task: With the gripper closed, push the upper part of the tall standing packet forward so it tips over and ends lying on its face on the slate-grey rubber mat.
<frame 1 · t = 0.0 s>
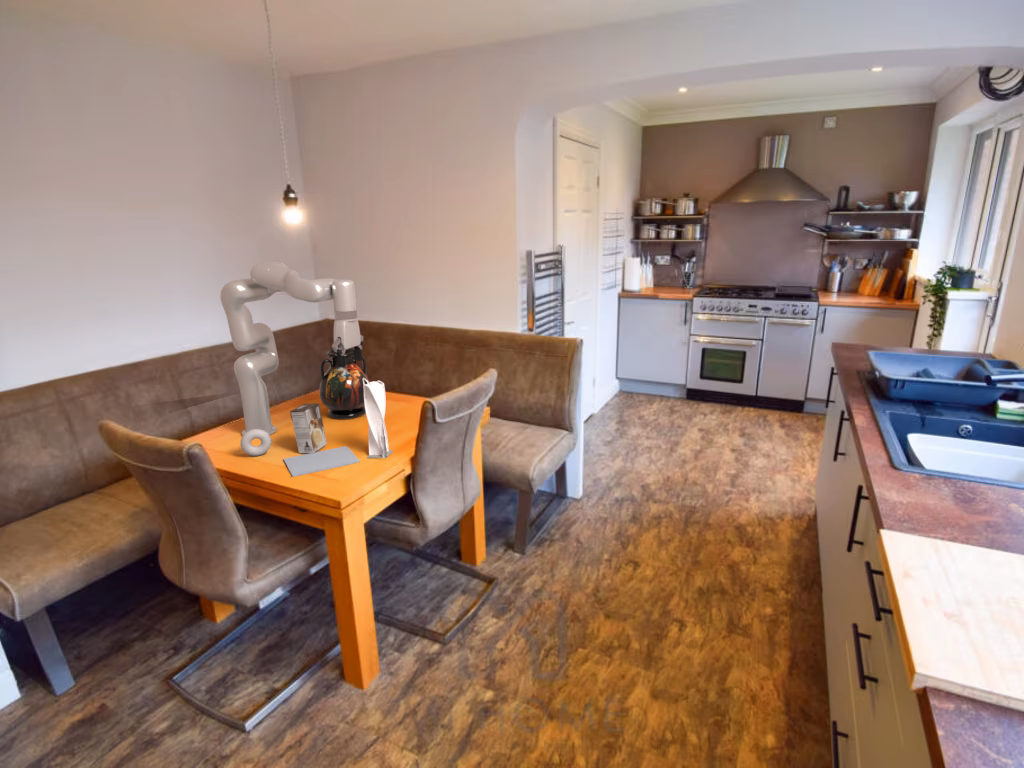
hand: (350, 363, 198), 31 cm above the table, tool pointing down, fingers open, 9 cm apart
mat: (321, 461, 193), on the table
donut: (258, 456, 198), on the table
coffee box: (313, 449, 203), on the table, touching mat
skyscraper: (379, 454, 198), on the table
amphora vase: (347, 414, 242), on the table
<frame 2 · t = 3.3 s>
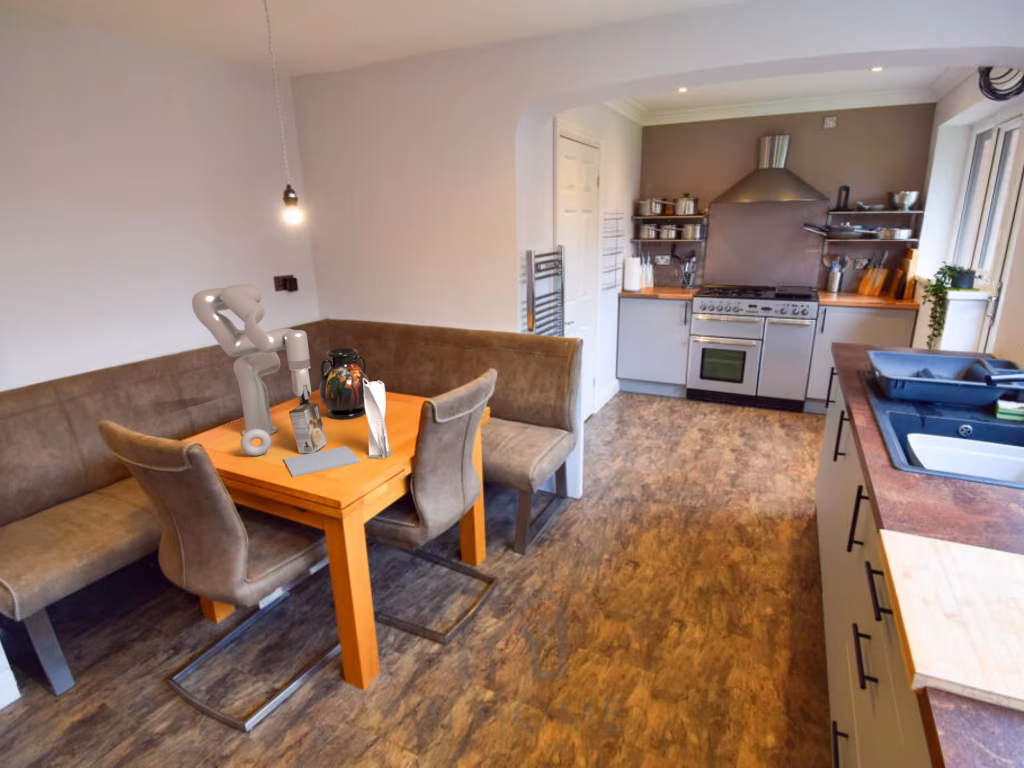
hand: (305, 412, 207), 12 cm above the table, tool pointing down, fingers closed
coffee box: (313, 449, 203), on the table, touching gripper, mat
everything else where it was.
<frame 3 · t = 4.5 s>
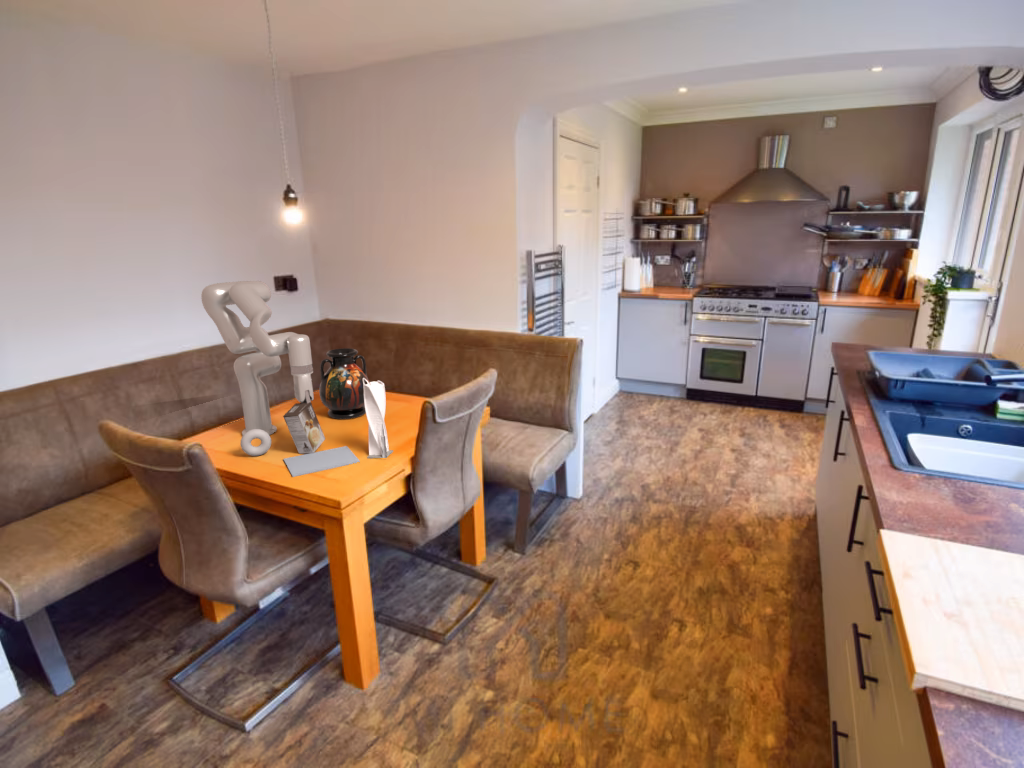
hand: (307, 417, 204), 11 cm above the table, tool pointing down, fingers closed
coffee box: (312, 446, 202), point 1 cm above the table, touching mat
everything else where it was.
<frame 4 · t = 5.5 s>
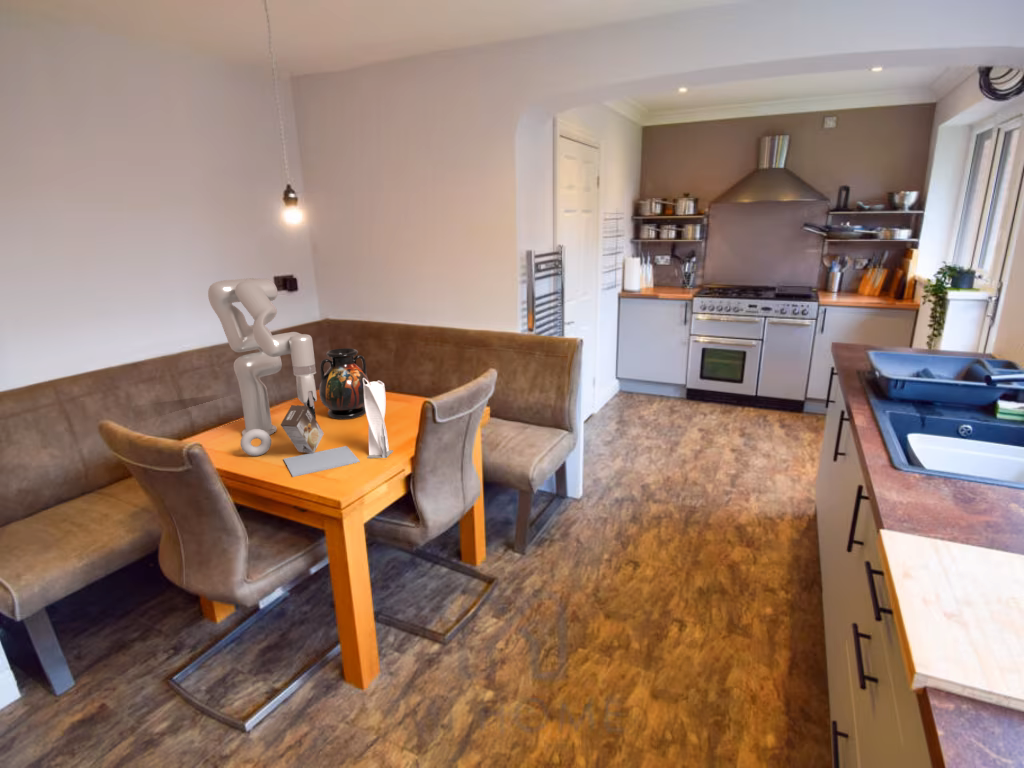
hand: (310, 419, 200), 12 cm above the table, tool pointing down, fingers closed
coffee box: (311, 443, 202), point 3 cm above the table, touching gripper, mat
everything else where it was.
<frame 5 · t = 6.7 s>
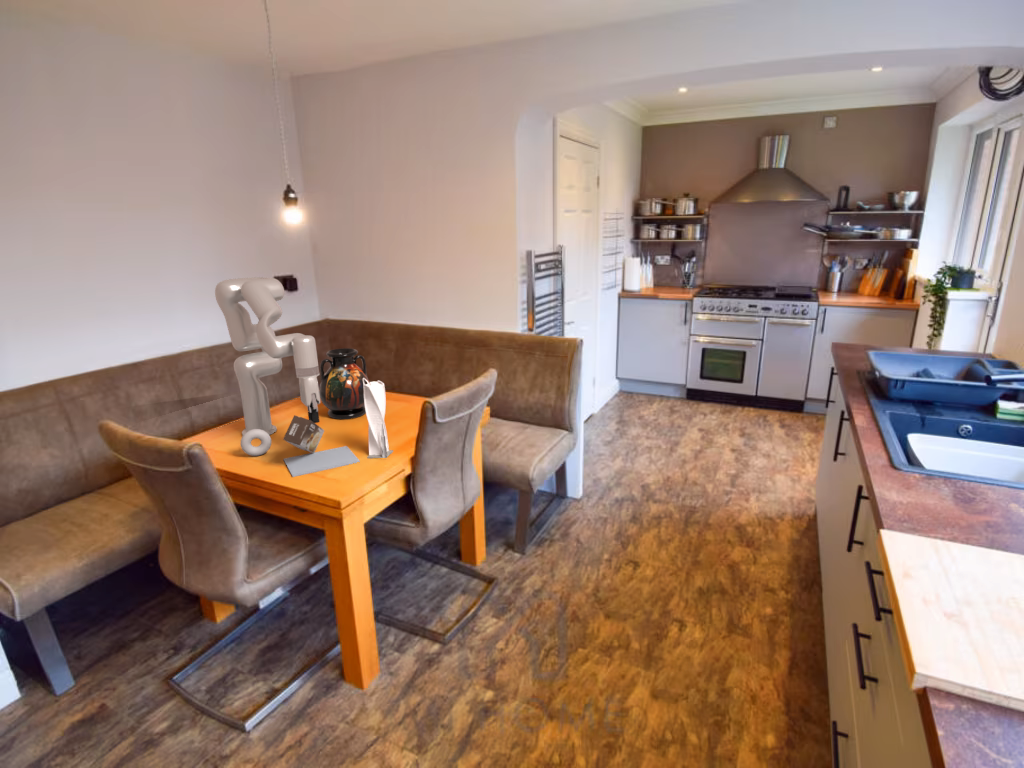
hand: (314, 422, 196), 12 cm above the table, tool pointing down, fingers closed
coffee box: (311, 439, 200), point 5 cm above the table, touching gripper, mat
everything else where it was.
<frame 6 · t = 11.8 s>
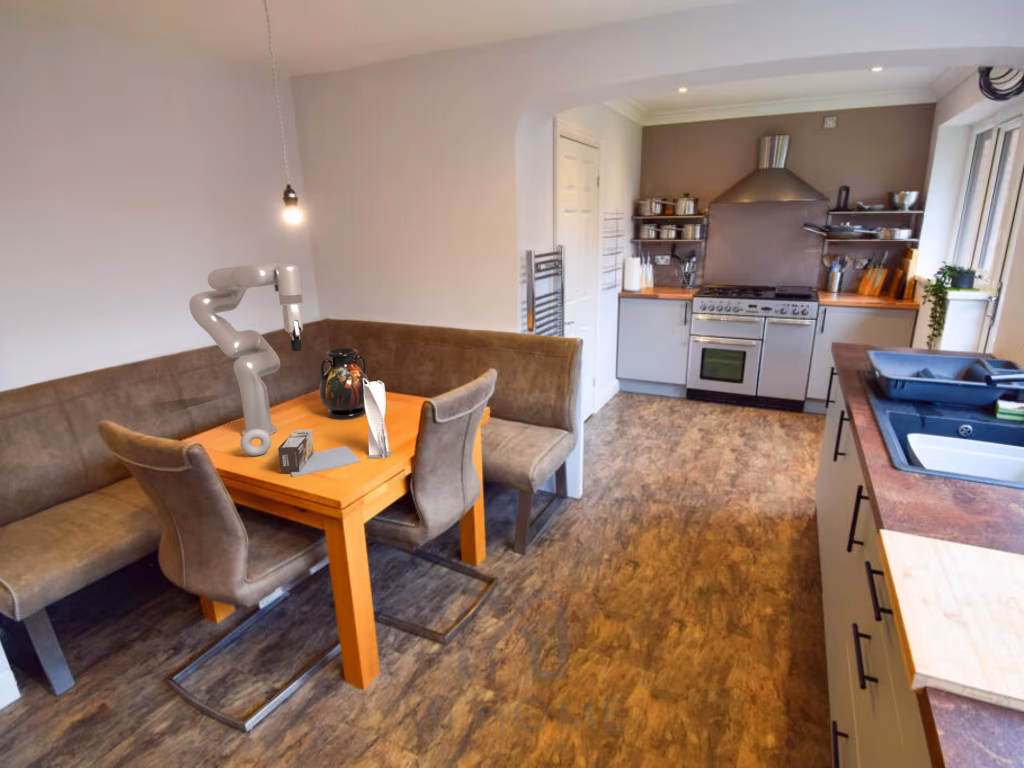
hand: (296, 350, 202), 35 cm above the table, tool pointing down, fingers closed
coffee box: (304, 441, 197), point 5 cm above the table, touching mat
everything else where it was.
at the end: coffee box tilted 89°; coffee box touching mat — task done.
